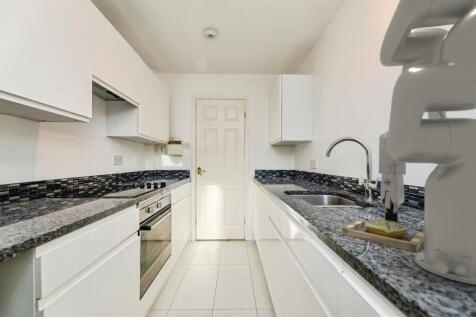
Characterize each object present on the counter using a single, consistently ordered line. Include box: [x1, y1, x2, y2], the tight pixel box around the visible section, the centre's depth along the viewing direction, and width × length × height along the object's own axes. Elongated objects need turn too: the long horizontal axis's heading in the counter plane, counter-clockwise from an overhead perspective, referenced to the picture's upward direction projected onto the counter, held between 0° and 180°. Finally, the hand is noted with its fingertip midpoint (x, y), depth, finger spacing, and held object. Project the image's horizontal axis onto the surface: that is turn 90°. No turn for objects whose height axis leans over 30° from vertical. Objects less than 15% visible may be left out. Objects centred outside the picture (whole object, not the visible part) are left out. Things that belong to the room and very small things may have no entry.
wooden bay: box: [341, 219, 424, 253], centre depth 68 cm, size 16×18×2 cm
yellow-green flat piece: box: [364, 218, 407, 239], centre depth 71 cm, size 10×11×4 cm
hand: (391, 224), depth 75 cm, fingers closed
